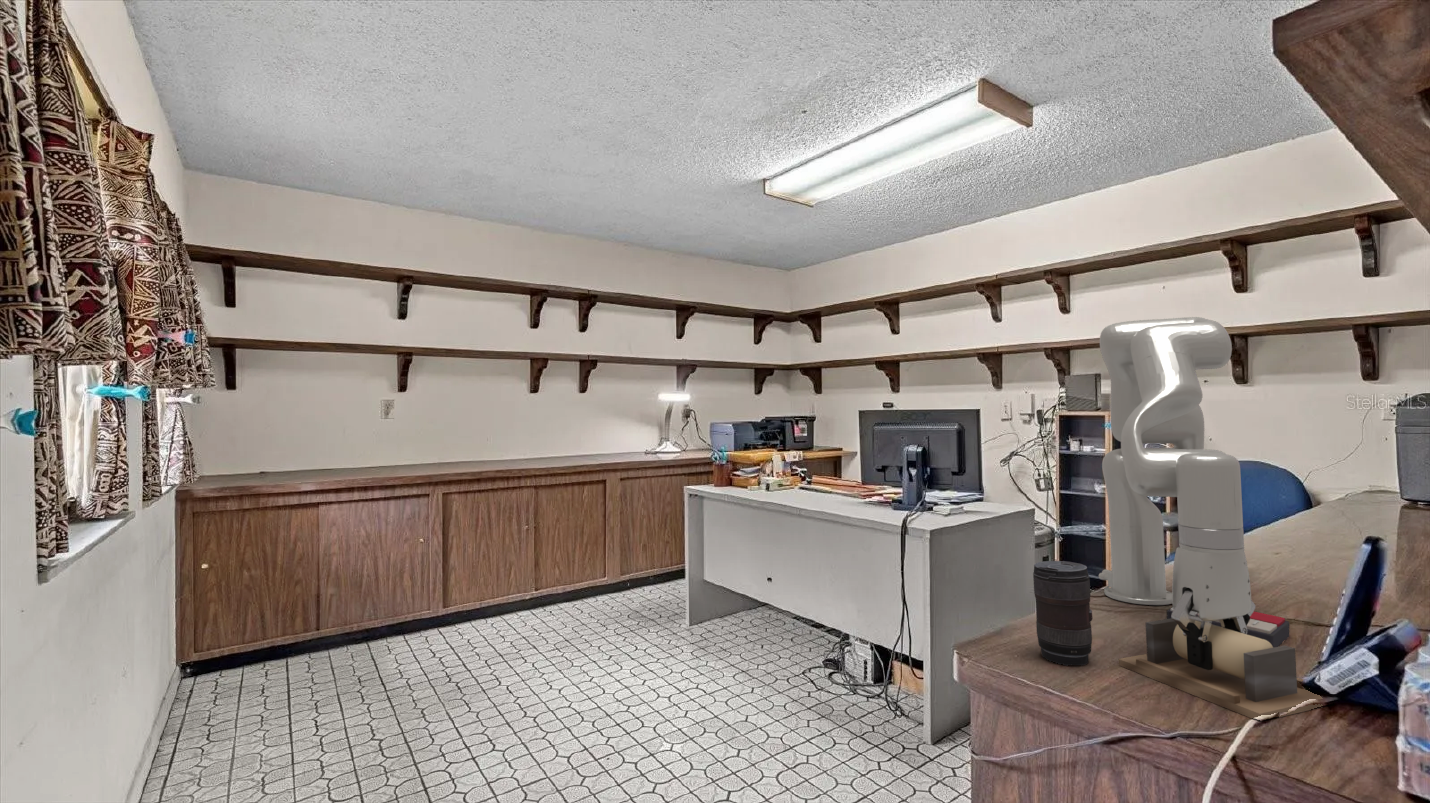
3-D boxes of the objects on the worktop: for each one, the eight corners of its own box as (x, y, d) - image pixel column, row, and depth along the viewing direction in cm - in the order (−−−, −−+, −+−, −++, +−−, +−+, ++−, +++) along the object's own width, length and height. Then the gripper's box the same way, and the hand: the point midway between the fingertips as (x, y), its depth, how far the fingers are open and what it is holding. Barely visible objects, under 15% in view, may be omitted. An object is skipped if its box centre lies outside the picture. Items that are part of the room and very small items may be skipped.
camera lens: (1053, 645, 109) (1049, 557, 110) (1103, 659, 103) (1099, 565, 103) (1026, 656, 105) (1022, 564, 105) (1076, 671, 98) (1072, 573, 99)
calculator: (1273, 630, 104) (1165, 606, 116) (1272, 657, 104) (1165, 629, 116) (1290, 616, 111) (1187, 594, 123) (1289, 641, 111) (1186, 617, 123)
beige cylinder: (1187, 666, 97) (1166, 639, 96) (1207, 636, 98) (1187, 609, 97) (1260, 693, 87) (1238, 663, 86) (1282, 659, 89) (1261, 629, 88)
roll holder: (1118, 665, 100) (1116, 620, 100) (1184, 653, 104) (1182, 609, 105) (1260, 721, 81) (1257, 665, 81) (1334, 704, 85) (1331, 651, 86)
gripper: (1225, 529, 100) (1231, 647, 99) (1141, 538, 94) (1147, 662, 94) (1280, 537, 92) (1287, 664, 92) (1193, 548, 87) (1199, 682, 87)
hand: (1216, 662), depth 93 cm, fingers closed on beige cylinder, 5 cm apart
